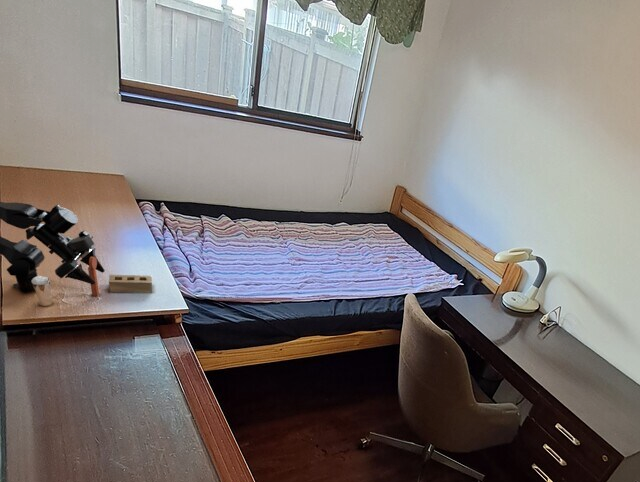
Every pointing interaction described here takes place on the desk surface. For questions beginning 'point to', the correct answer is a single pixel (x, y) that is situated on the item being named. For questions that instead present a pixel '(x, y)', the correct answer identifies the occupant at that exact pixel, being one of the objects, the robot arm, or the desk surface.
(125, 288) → the utensil rack
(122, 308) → the desk surface
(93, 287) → the orange piece
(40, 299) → the milkshake
